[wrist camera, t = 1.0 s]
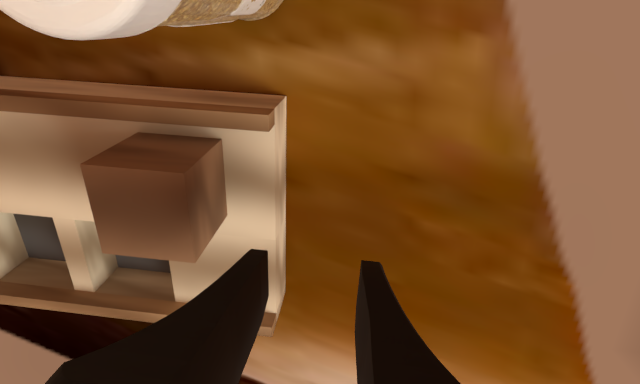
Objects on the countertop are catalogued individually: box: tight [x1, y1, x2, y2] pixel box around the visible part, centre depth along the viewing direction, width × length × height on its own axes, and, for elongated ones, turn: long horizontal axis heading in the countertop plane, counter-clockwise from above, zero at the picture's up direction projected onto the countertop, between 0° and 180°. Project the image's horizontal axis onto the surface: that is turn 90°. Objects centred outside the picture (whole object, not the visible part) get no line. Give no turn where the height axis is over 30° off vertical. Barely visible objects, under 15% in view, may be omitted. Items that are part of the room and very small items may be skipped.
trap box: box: [0, 76, 286, 337], centre depth 23 cm, size 14×26×4 cm, turn 87°
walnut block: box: [80, 132, 228, 263], centre depth 19 cm, size 4×4×4 cm
